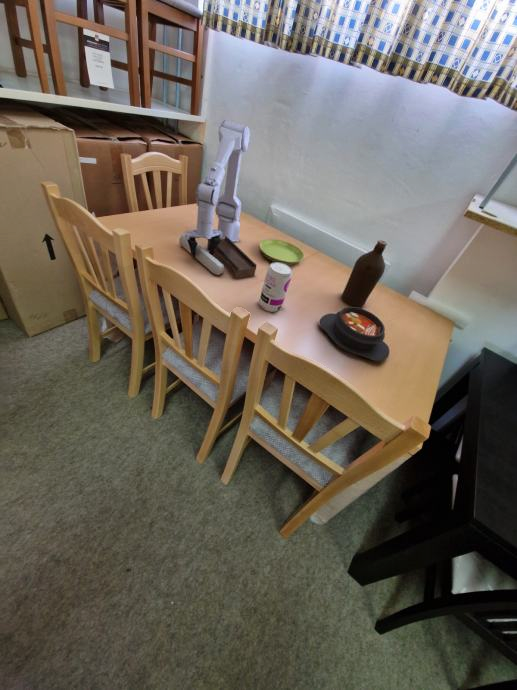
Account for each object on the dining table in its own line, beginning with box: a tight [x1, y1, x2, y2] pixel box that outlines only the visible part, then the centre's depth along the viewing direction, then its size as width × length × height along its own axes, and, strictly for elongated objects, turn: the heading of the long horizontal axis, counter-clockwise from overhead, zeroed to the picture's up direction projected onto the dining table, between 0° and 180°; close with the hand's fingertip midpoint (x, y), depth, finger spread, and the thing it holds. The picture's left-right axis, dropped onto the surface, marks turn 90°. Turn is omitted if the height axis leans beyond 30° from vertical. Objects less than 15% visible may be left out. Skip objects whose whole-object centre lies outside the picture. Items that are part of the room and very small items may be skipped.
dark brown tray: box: [206, 236, 258, 280], centre depth 118 cm, size 9×24×5 cm, turn 34°
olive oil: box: [340, 239, 388, 309], centre depth 110 cm, size 11×11×25 cm
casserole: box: [318, 306, 390, 362], centre depth 96 cm, size 25×19×8 cm
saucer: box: [259, 238, 305, 266], centre depth 132 cm, size 21×21×3 cm
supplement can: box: [258, 262, 293, 313], centre depth 98 cm, size 8×8×15 cm
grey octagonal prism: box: [178, 233, 225, 276], centre depth 114 cm, size 5×5×25 cm
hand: (202, 255), depth 115 cm, fingers open, 7 cm apart
